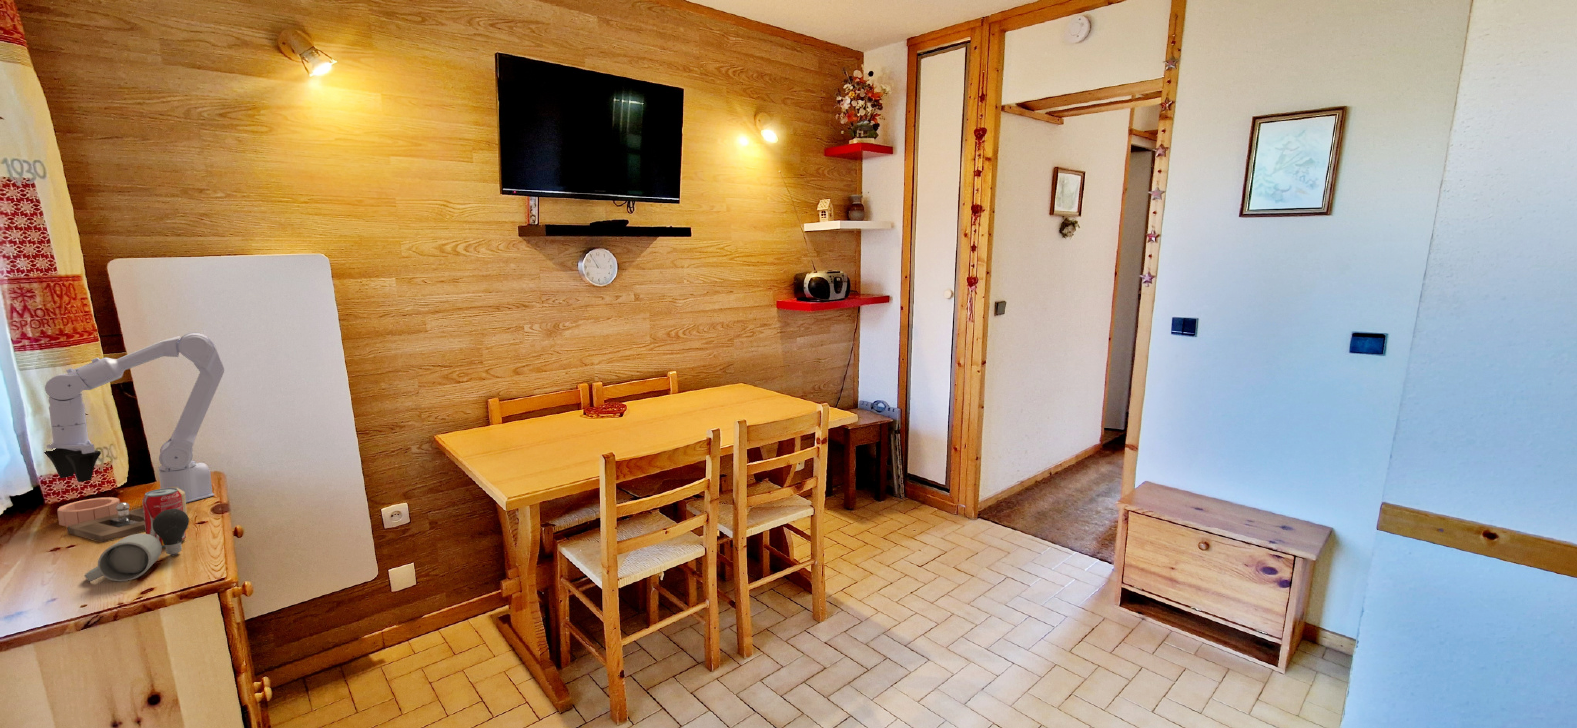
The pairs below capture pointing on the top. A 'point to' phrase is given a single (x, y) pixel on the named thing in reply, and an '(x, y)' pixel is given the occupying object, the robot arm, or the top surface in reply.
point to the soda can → (160, 507)
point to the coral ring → (87, 510)
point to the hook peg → (122, 516)
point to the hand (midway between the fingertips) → (75, 479)
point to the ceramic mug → (127, 558)
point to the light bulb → (171, 529)
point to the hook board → (108, 527)
